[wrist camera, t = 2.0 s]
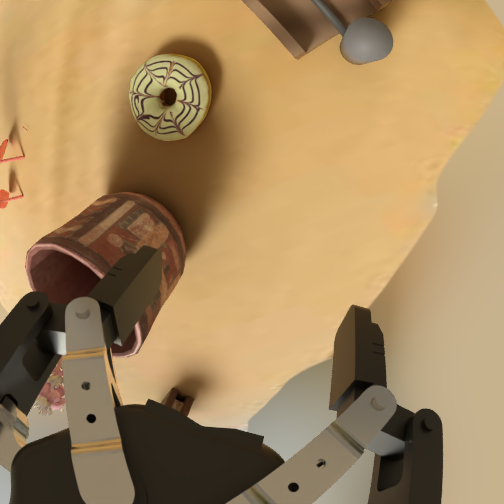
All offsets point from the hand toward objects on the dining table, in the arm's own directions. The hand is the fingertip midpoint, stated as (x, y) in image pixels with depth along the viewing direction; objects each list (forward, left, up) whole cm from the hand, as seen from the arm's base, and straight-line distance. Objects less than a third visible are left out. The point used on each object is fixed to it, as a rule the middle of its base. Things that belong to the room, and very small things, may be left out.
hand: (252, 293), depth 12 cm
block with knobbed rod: (-15, +11, -25) cm, 31 cm away
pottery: (-3, -27, -26) cm, 38 cm away
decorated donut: (-14, -9, -27) cm, 31 cm away
